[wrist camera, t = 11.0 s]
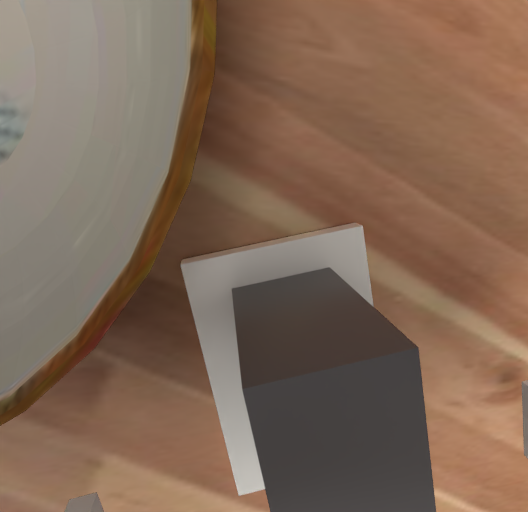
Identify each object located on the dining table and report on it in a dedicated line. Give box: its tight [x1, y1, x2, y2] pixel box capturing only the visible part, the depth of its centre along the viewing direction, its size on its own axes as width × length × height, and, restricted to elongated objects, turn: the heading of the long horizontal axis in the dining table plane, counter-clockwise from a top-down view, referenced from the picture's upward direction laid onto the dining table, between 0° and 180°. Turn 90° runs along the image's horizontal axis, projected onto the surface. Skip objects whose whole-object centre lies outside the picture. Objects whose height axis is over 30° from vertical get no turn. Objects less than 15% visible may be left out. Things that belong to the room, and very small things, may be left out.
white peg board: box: [180, 223, 374, 496], centre depth 17 cm, size 12×8×5 cm, turn 11°
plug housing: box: [232, 267, 436, 512], centre depth 15 cm, size 9×4×8 cm, turn 11°
